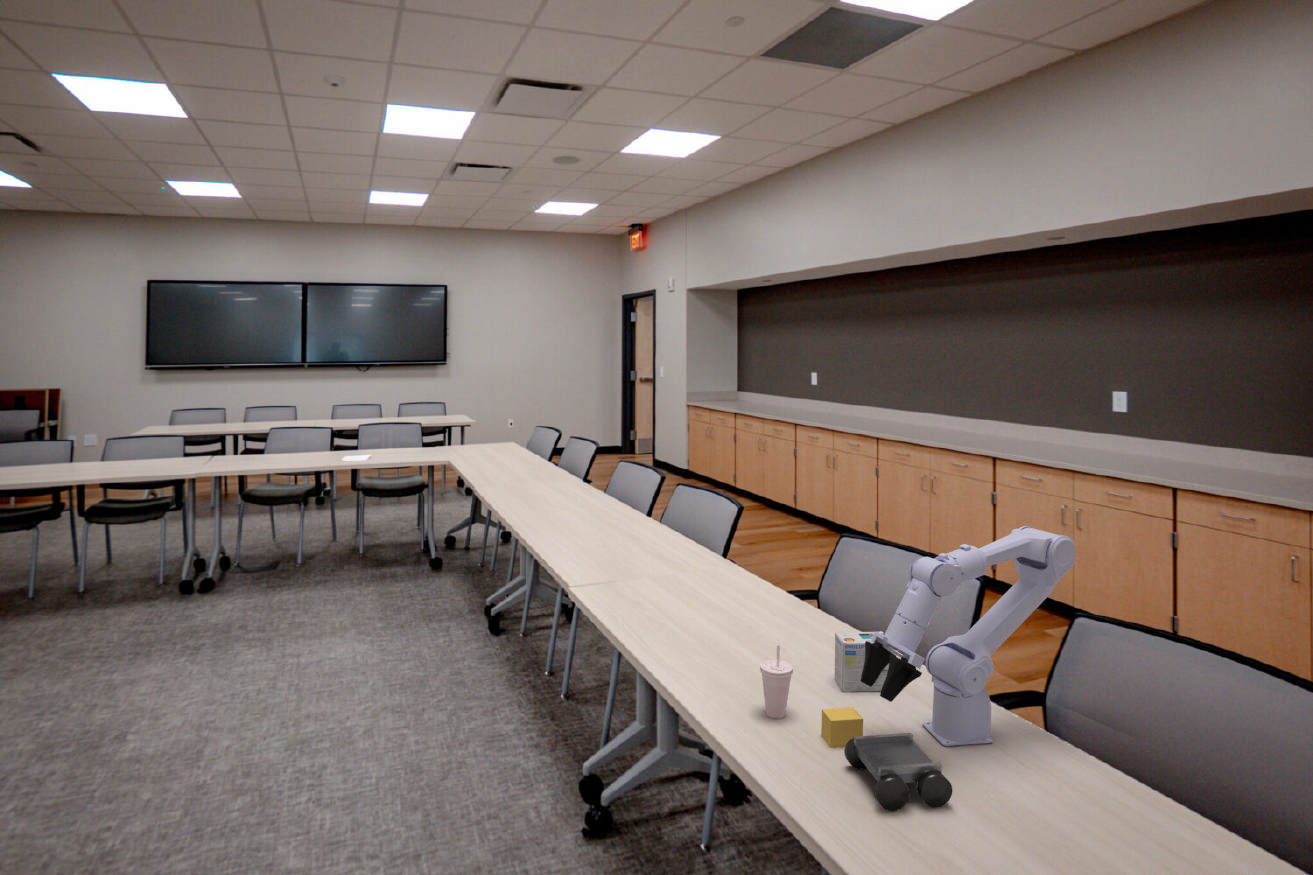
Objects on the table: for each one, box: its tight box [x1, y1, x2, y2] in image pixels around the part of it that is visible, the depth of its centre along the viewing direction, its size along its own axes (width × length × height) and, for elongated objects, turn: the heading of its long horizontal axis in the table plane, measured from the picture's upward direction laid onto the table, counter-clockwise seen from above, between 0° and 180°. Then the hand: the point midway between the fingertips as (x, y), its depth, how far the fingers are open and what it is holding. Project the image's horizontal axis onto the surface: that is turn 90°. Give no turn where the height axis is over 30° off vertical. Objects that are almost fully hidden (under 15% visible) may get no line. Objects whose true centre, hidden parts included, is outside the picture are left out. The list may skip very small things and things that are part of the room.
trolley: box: [843, 732, 953, 812], centre depth 117 cm, size 12×13×6 cm
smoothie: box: [759, 644, 794, 720], centre depth 141 cm, size 6×6×14 cm
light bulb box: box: [834, 631, 893, 693], centre depth 154 cm, size 11×7×11 cm, turn 92°
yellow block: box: [820, 706, 864, 748], centre depth 132 cm, size 6×4×5 cm
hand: (875, 691), depth 127 cm, fingers open, 7 cm apart
